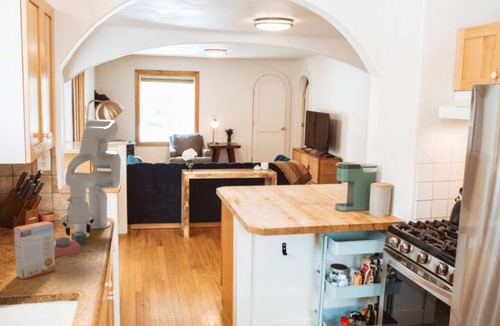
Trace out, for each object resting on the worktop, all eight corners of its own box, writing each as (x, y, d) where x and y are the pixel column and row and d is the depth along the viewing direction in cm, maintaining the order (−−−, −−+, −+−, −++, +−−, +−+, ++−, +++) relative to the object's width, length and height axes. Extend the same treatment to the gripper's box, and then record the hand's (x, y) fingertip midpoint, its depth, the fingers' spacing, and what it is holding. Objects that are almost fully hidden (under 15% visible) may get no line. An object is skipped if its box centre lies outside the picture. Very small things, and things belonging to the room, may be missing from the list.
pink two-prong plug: (39, 247, 230) (39, 234, 229) (69, 243, 239) (69, 230, 238) (49, 257, 217) (49, 243, 216) (80, 252, 226) (80, 239, 225)
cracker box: (48, 267, 205) (47, 220, 202) (55, 271, 201) (54, 222, 198) (15, 276, 194) (13, 226, 191) (22, 280, 190) (20, 229, 188)
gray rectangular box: (71, 242, 241) (71, 232, 240) (81, 240, 244) (81, 231, 243) (76, 245, 235) (76, 236, 235) (86, 244, 239) (86, 234, 238)
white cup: (80, 239, 245) (79, 220, 244) (71, 236, 250) (70, 217, 248) (93, 236, 251) (93, 217, 250) (84, 233, 256) (84, 215, 255)
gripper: (62, 202, 228) (62, 237, 230) (98, 199, 239) (98, 233, 241) (57, 200, 234) (58, 234, 236) (92, 197, 245) (92, 230, 246)
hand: (78, 233), depth 238 cm, fingers open, 9 cm apart
